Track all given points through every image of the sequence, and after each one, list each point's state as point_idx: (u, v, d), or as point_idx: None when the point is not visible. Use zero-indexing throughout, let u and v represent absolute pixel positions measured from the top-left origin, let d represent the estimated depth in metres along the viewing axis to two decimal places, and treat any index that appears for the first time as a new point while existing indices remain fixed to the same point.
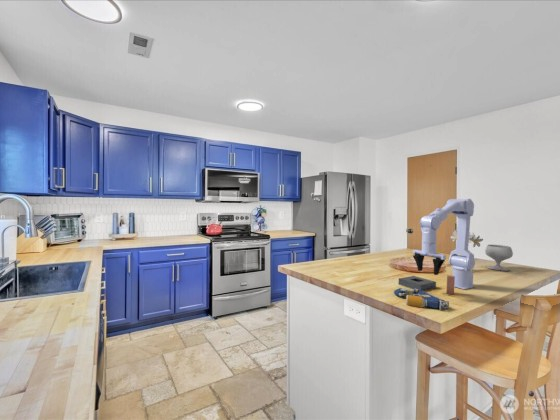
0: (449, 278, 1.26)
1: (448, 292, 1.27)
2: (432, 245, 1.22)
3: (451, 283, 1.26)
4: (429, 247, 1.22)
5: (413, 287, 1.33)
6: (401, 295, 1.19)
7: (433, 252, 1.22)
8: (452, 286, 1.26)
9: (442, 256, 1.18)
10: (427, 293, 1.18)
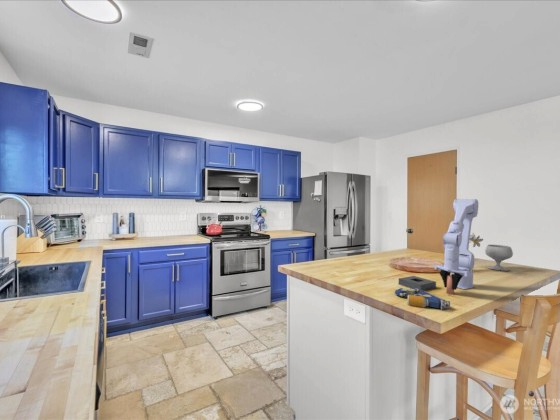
0: (449, 278, 1.26)
1: (448, 292, 1.27)
2: (455, 262, 1.24)
3: (451, 283, 1.26)
4: (452, 263, 1.24)
5: (413, 287, 1.33)
6: (402, 295, 1.19)
7: (456, 268, 1.24)
8: None
9: (465, 273, 1.20)
10: (428, 293, 1.18)
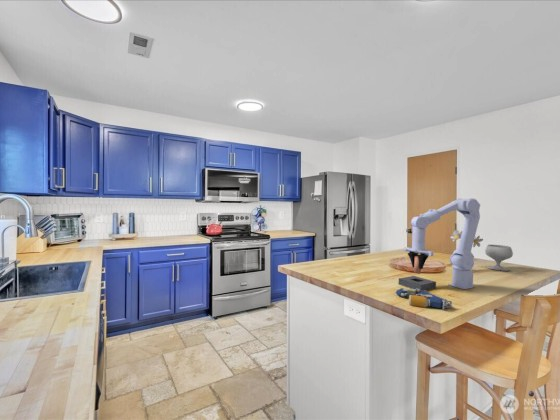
0: (416, 258, 1.36)
1: (415, 271, 1.37)
2: (421, 243, 1.34)
3: (418, 263, 1.36)
4: (418, 244, 1.34)
5: (413, 287, 1.33)
6: (403, 295, 1.19)
7: (422, 249, 1.34)
8: (418, 266, 1.36)
9: (430, 253, 1.31)
10: (429, 293, 1.18)
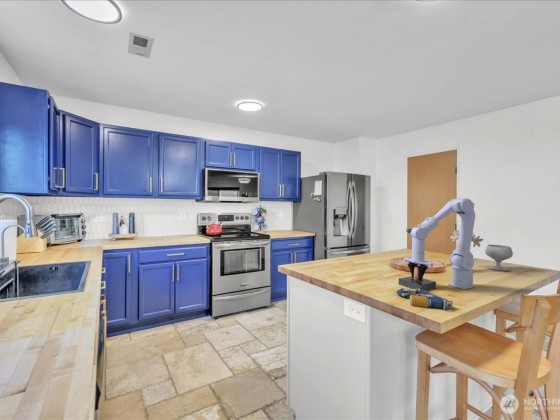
0: (415, 269, 1.36)
1: None
2: (421, 254, 1.34)
3: (417, 274, 1.36)
4: (418, 255, 1.35)
5: (413, 287, 1.33)
6: (404, 295, 1.19)
7: (421, 260, 1.34)
8: None
9: (429, 264, 1.31)
10: (430, 293, 1.18)
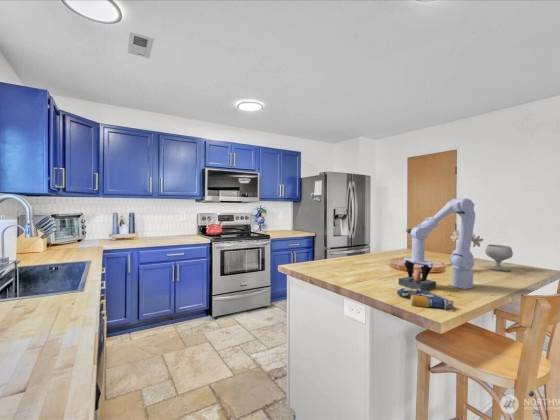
0: (415, 272, 1.37)
1: None
2: (421, 254, 1.34)
3: (417, 277, 1.36)
4: (418, 255, 1.35)
5: (413, 287, 1.33)
6: (405, 295, 1.19)
7: (421, 260, 1.34)
8: (418, 279, 1.36)
9: (429, 264, 1.31)
10: (430, 293, 1.18)
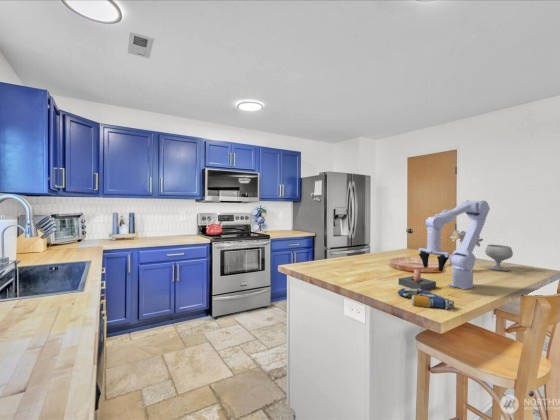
0: (415, 272, 1.37)
1: None
2: (437, 244, 1.31)
3: (417, 277, 1.36)
4: (434, 245, 1.32)
5: (413, 287, 1.33)
6: (405, 295, 1.19)
7: (438, 250, 1.31)
8: (418, 279, 1.36)
9: (446, 254, 1.28)
10: (431, 293, 1.18)
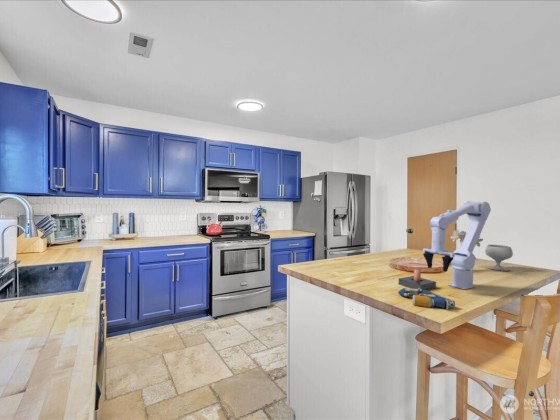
0: (415, 272, 1.37)
1: None
2: (441, 244, 1.30)
3: (417, 277, 1.36)
4: (438, 245, 1.31)
5: (413, 287, 1.33)
6: (406, 295, 1.19)
7: (442, 250, 1.31)
8: (418, 279, 1.36)
9: (451, 254, 1.27)
10: (431, 293, 1.19)
